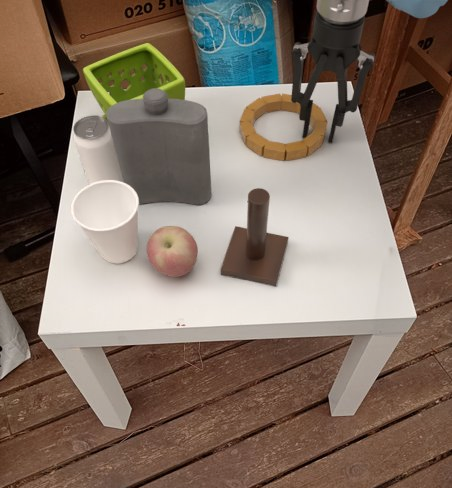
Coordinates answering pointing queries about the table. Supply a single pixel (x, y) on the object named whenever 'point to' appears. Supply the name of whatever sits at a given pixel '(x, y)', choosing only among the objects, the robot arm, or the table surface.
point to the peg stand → (255, 245)
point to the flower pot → (133, 76)
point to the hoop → (275, 148)
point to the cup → (109, 218)
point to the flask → (162, 147)
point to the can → (96, 149)
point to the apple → (172, 251)
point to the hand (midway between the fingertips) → (318, 135)
